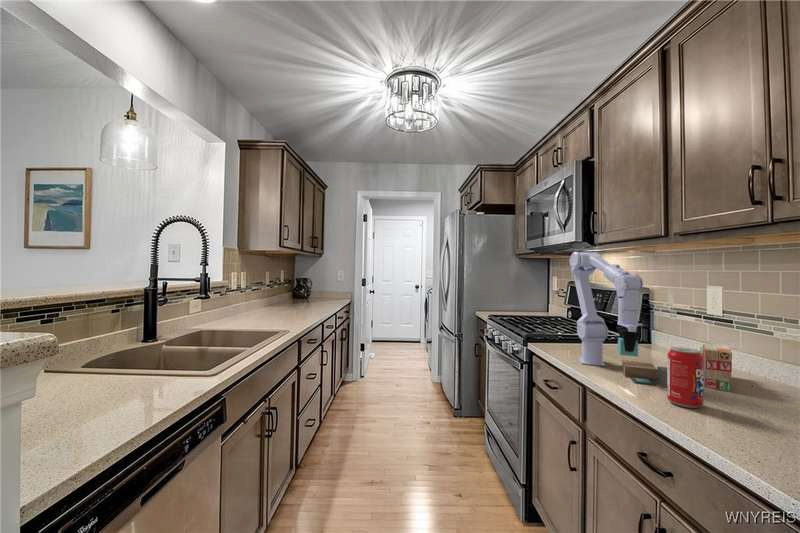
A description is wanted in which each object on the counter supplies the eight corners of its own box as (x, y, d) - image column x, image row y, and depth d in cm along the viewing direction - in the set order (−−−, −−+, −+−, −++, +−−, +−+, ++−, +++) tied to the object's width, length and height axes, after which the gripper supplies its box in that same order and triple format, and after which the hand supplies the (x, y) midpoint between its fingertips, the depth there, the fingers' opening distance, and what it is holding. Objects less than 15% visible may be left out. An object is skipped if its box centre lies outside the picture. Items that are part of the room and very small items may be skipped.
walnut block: (621, 371, 132) (622, 360, 132) (651, 374, 128) (651, 363, 128) (625, 377, 123) (625, 366, 123) (657, 381, 120) (657, 369, 120)
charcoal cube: (657, 381, 119) (657, 366, 119) (675, 383, 117) (675, 368, 117) (661, 386, 114) (661, 370, 114) (680, 388, 112) (681, 372, 112)
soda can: (660, 398, 102) (660, 346, 103) (687, 399, 102) (688, 346, 103) (681, 409, 95) (682, 352, 95) (711, 410, 95) (712, 352, 95)
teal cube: (617, 352, 126) (617, 337, 126) (634, 353, 124) (634, 338, 124) (620, 355, 122) (620, 340, 122) (637, 356, 120) (638, 341, 120)
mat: (630, 378, 122) (630, 376, 122) (651, 380, 120) (651, 378, 120) (634, 383, 117) (634, 381, 117) (656, 385, 114) (656, 384, 114)
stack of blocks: (700, 372, 130) (700, 338, 130) (723, 376, 127) (723, 340, 127) (704, 388, 113) (705, 348, 113) (731, 392, 109) (732, 351, 109)
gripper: (647, 312, 115) (646, 355, 115) (636, 308, 128) (636, 346, 128) (621, 311, 117) (621, 353, 117) (614, 307, 131) (613, 344, 131)
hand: (627, 349), depth 123 cm, fingers closed on teal cube, 5 cm apart
